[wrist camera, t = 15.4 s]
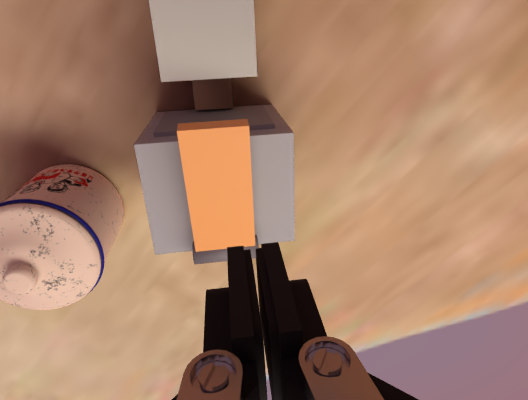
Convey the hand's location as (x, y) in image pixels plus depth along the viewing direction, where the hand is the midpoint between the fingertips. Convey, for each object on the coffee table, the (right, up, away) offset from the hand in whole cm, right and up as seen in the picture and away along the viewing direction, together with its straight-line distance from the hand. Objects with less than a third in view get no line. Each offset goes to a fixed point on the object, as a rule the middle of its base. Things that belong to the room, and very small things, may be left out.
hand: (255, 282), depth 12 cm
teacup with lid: (-18, +2, +23) cm, 29 cm away
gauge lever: (-3, +3, +12) cm, 13 cm away
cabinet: (-4, +7, +22) cm, 23 cm away
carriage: (-4, +17, +18) cm, 25 cm away
